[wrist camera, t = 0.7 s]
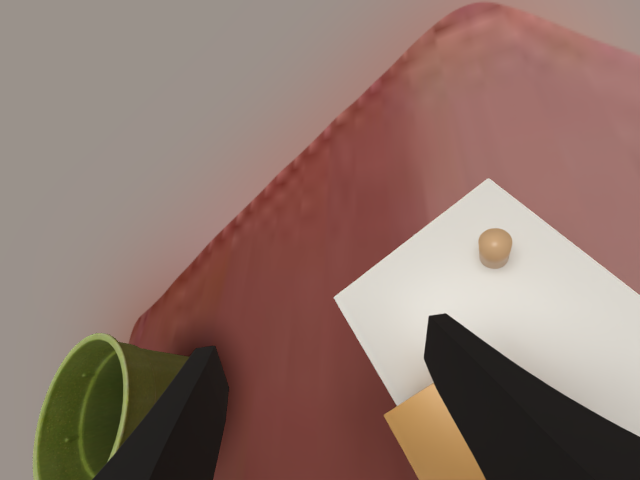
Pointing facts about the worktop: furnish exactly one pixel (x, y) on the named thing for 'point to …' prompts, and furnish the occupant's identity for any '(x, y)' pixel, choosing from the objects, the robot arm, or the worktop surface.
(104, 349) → the plant pot
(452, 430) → the wooden toy cube
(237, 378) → the worktop surface
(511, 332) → the plate
